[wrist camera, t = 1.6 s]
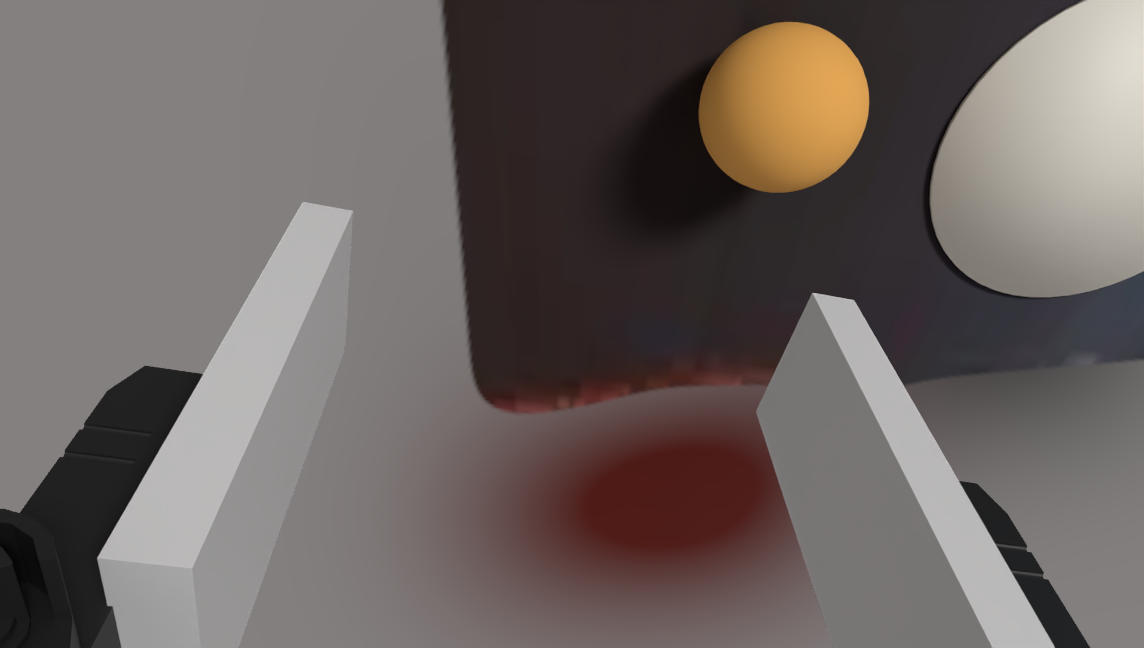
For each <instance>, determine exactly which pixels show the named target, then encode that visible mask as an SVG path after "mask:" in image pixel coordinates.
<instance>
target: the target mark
mask: <svg viewBox="0 0 1144 648" xmlns="http://www.w3.org/2000/svg"><path fill="white" fill-rule="evenodd" d="M929 205H930V212H931V220H932V224H933V227H934V230H935V233H936V237H937V239H938V240H939V242H940V244H941V246H942V248H943V250H944V252H945V253H946V254H947V255H948V257H949V258H950V259H951V260H952V262H953V263H954V264H955V265H956V266H957V267H958V268H959V269H960V270H961V271H962V272H963V273H965V274H966V275H967V276H968V277H970V278H971V279H973V280H975V281H976V282H978V283H980V284H981V285H984V286H986V287H988V288H991V289H993V290H996V291H999V292H1003V293H1007V294H1011V295H1017V296H1025V297H1058V296H1067V295H1073V294H1078V293H1083V292H1088V291H1092V290H1096V289H1099V288H1102V287H1106V286H1109V285H1112V284H1115V283H1117V282H1120V281H1122V280H1125V279H1127V278H1130V277H1132V276H1134V275H1136V274H1138V273H1140V272H1142V271H1144V0H1082V1H1080V2H1078V3H1076V4H1074V5H1072V6H1070V7H1068V8H1066V9H1064V10H1062V11H1061V12H1059V13H1057V14H1056V15H1054V16H1053V17H1051V18H1049V19H1048V20H1046V21H1044V22H1043V23H1041V24H1040V25H1038V26H1037V27H1036V28H1034V29H1033V30H1032V31H1030V32H1029V33H1028V34H1026V35H1025V36H1024V37H1022V38H1021V39H1020V40H1018V41H1017V42H1016V43H1015V44H1014V45H1013V46H1011V47H1010V48H1009V49H1008V50H1007V51H1006V52H1005V53H1004V54H1003V55H1002V56H1001V57H999V58H998V59H997V60H996V61H995V62H994V63H993V64H992V66H991V67H990V68H989V69H988V70H987V71H986V72H985V73H984V74H983V76H982V77H981V78H980V79H979V80H978V81H977V82H976V84H975V85H974V86H973V88H972V89H971V90H970V92H969V93H968V95H967V96H966V97H965V99H964V100H963V101H962V103H961V104H960V106H959V108H958V110H957V111H956V113H955V115H954V116H953V118H952V120H951V121H950V123H949V125H948V127H947V130H946V132H945V134H944V136H943V138H942V141H941V143H940V145H939V149H938V152H937V155H936V158H935V161H934V165H933V170H932V176H931V181H930V199H929Z"/></svg>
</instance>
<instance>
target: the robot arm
mask: <svg viewBox="0 0 1144 648" xmlns="http://www.w3.org/2000/svg"><path fill="white" fill-rule="evenodd" d="M352 224H353V211H350V210H344V209H339V208H334V207H328V206H322V205H317V204H311V203H305V202H303V203H302V204H301V206H300V208H299V210H298V211H297V213H296V215H295V217H294V218H293V220H292V222H291V224H290V225H289V227H288V229H287V230H286V232H285V234H284V236H283V237H282V239H281V241H280V242H279V245H278V246H277V248H276V250H275V251H274V253H273V255H272V256H271V258H270V260H269V262H268V263H267V265H266V267H265V268H264V270H263V272H262V274H261V275H260V277H259V279H258V281H257V282H256V284H255V286H254V287H253V289H252V291H251V293H250V294H249V296H248V298H247V300H246V301H245V303H244V305H243V307H242V308H241V310H240V312H239V313H238V315H237V317H236V319H235V320H234V322H233V324H232V326H231V327H230V329H229V331H228V332H227V334H226V336H225V338H224V339H223V341H222V343H221V345H220V346H219V348H218V350H217V352H216V353H215V355H214V357H213V359H212V360H211V362H210V364H209V365H208V367H207V369H206V371H205V372H204V374H199V373H191V372H185V371H178V370H171V369H164V368H157V367H150V366H144V367H143V368H141V369H139V370H138V371H136V372H135V373H133V374H132V375H131V376H129V377H127V378H126V379H124V380H123V381H121V382H120V383H118V384H117V385H115V386H114V387H112V388H111V389H110V390H108V391H107V392H106V394H105V395H104V397H103V398H102V399H101V401H100V402H99V403H98V405H97V406H96V408H95V409H94V410H93V412H92V413H91V415H90V416H89V417H88V419H87V420H86V421H85V423H84V428H83V430H79V431H78V433H77V434H76V435H75V437H74V438H73V440H72V441H71V442H70V444H69V445H68V447H67V448H66V449H65V454H64V457H60V458H59V459H58V460H57V462H56V464H55V465H54V466H53V467H52V469H51V470H50V472H49V473H48V475H47V476H46V477H45V479H44V480H43V482H42V483H41V484H40V486H39V487H38V488H37V490H36V491H35V493H34V494H33V495H32V497H31V498H30V499H29V501H28V502H27V504H26V505H25V506H24V508H23V509H22V511H21V512H20V513H17V512H13V511H10V510H6V509H0V648H238V647H239V644H240V642H241V639H242V636H243V633H244V630H245V628H246V625H247V622H248V619H249V616H250V614H251V611H252V608H253V605H254V602H255V599H256V597H257V594H258V591H259V588H260V586H261V583H262V580H263V577H264V574H265V572H266V569H267V566H268V563H269V560H270V558H271V555H272V552H273V549H274V546H275V543H276V541H277V538H278V535H279V532H280V530H281V527H282V524H283V521H284V518H285V515H286V513H287V510H288V507H289V504H290V502H291V498H292V496H293V493H294V490H295V488H296V485H297V482H298V479H299V476H300V474H301V471H302V467H303V465H304V462H305V459H306V457H307V454H308V451H309V448H310V445H311V443H312V440H313V437H314V434H315V431H316V429H317V426H318V423H319V420H320V417H321V414H322V412H323V409H324V406H325V403H326V401H327V398H328V395H329V392H330V389H331V387H332V384H333V381H334V378H335V375H336V373H337V369H338V367H339V364H340V361H341V359H342V356H343V353H344V350H345V341H346V323H347V307H348V291H349V274H350V257H351V240H352ZM756 412H757V416H758V419H759V422H760V425H761V428H762V431H763V434H764V438H765V441H766V443H767V447H768V450H769V453H770V456H771V459H772V462H773V465H774V468H775V471H776V474H777V478H778V481H779V484H780V487H781V490H782V493H783V496H784V499H785V502H786V505H787V509H788V512H789V515H790V518H791V521H792V524H793V527H794V530H795V533H796V536H797V539H798V542H799V545H800V549H801V552H802V555H803V558H804V561H805V564H806V567H807V570H808V573H809V576H810V580H811V583H812V586H813V589H814V592H815V595H816V598H817V601H818V604H819V607H820V610H821V614H822V617H823V620H824V623H825V626H826V629H827V632H828V635H829V638H830V641H831V644H832V647H833V648H1090V647H1089V645H1088V644H1087V642H1086V640H1085V639H1084V637H1083V635H1082V634H1081V632H1080V631H1079V629H1078V627H1077V626H1076V624H1075V623H1074V621H1073V619H1072V618H1071V616H1070V615H1069V613H1068V611H1067V610H1066V608H1065V606H1064V605H1063V603H1062V602H1061V600H1060V598H1059V597H1058V595H1057V593H1056V592H1055V591H1054V589H1053V587H1052V585H1051V584H1050V582H1049V580H1046V579H1043V573H1044V572H1043V571H1042V569H1041V568H1040V566H1039V564H1038V563H1037V561H1036V559H1035V558H1034V556H1033V555H1032V553H1030V552H1027V550H1026V547H1027V545H1026V544H1025V542H1024V540H1023V538H1022V537H1021V535H1020V534H1019V532H1018V531H1017V529H1016V527H1015V526H1014V524H1013V522H1012V521H1011V519H1010V517H1009V516H1008V514H1007V513H1006V512H1005V511H1004V510H1003V509H1002V508H1001V507H1000V506H999V505H998V504H997V503H996V502H995V501H994V500H993V499H992V498H991V497H990V496H989V495H987V493H986V492H985V491H984V490H983V489H982V488H981V487H980V486H979V485H978V484H975V483H969V482H962V481H958V479H957V477H956V476H955V474H954V472H953V470H952V469H951V467H950V465H949V464H948V462H947V460H946V458H945V457H944V455H943V453H942V452H941V450H940V448H939V446H938V444H937V443H936V441H935V439H934V438H933V436H932V434H931V432H930V431H929V429H928V427H927V426H926V424H925V422H924V420H923V419H922V417H921V415H920V413H919V412H918V410H917V408H916V406H915V405H914V403H913V401H912V400H911V398H910V396H909V394H908V393H907V391H906V389H905V387H904V386H903V384H902V382H901V381H900V379H899V377H898V375H897V374H896V372H895V370H894V368H893V367H892V365H891V363H890V362H889V360H888V358H887V356H886V355H885V353H884V351H883V349H882V348H881V346H880V344H879V343H878V341H877V339H876V337H875V336H874V334H873V332H872V330H871V329H870V327H869V325H868V323H867V322H866V320H865V318H864V317H863V315H862V313H861V311H860V310H859V308H858V306H857V304H856V303H855V301H854V300H850V299H844V298H839V297H833V296H828V295H822V294H816V293H812V295H811V297H810V299H809V301H808V303H807V305H806V308H805V310H804V312H803V314H802V316H801V318H800V320H799V322H798V324H797V326H796V329H795V331H794V333H793V335H792V337H791V339H790V341H789V343H788V345H787V347H786V350H785V352H784V354H783V356H782V358H781V360H780V362H779V364H778V366H777V368H776V371H775V373H774V375H773V377H772V379H771V381H770V383H769V385H768V387H767V390H766V392H765V394H764V396H763V398H762V400H761V402H760V404H759V407H758V409H757V411H756Z"/></svg>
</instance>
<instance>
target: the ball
mask: <svg viewBox="0 0 1144 648" xmlns="http://www.w3.org/2000/svg"><path fill="white" fill-rule="evenodd" d="M868 110H869V91H868V85H867V81H866V78H865V75H864V72H863V69H862V67H861V65H860V63H859V61H858V59H857V58H856V56H855V55H854V54H853V52H852V51H851V50H850V48H849V47H848V46H847V45H846V44H845V43H844V42H843V41H842V40H840V39H839V38H837V37H836V36H835V35H833V34H832V33H830V32H828V31H826V30H824V29H822V28H820V27H817V26H814V25H810V24H805V23H798V22H781V23H774V24H770V25H766V26H763V27H760V28H758V29H755V30H753V31H751V32H749V33H747V34H745V35H743V36H742V37H740V38H739V39H737V40H736V41H735V42H733V43H732V44H731V45H730V46H729V47H728V48H727V49H726V50H725V51H724V52H723V53H722V54H721V55H720V56H719V58H718V59H717V60H716V62H715V63H714V65H713V66H712V68H711V70H710V72H709V73H708V75H707V77H706V80H705V82H704V85H703V88H702V92H701V96H700V104H699V124H700V130H701V134H702V138H703V141H704V144H705V146H706V148H707V150H708V152H709V154H710V155H711V157H712V158H713V160H714V161H715V163H716V164H717V165H718V166H719V167H720V169H721V170H722V171H723V172H725V173H726V174H727V175H728V176H730V177H731V178H732V179H733V180H735V181H737V182H739V183H740V184H742V185H745V186H747V187H750V188H752V189H756V190H759V191H764V192H791V191H797V190H801V189H804V188H807V187H810V186H812V185H814V184H817V183H819V182H821V181H822V180H824V179H826V178H827V177H829V176H830V175H831V174H833V173H834V172H835V171H837V170H838V169H839V168H840V167H841V166H842V165H843V164H844V163H845V162H846V160H847V159H848V158H849V157H850V156H851V154H852V153H853V151H854V150H855V148H856V147H857V145H858V143H859V141H860V139H861V137H862V134H863V131H864V129H865V126H866V122H867V118H868Z"/></svg>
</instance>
